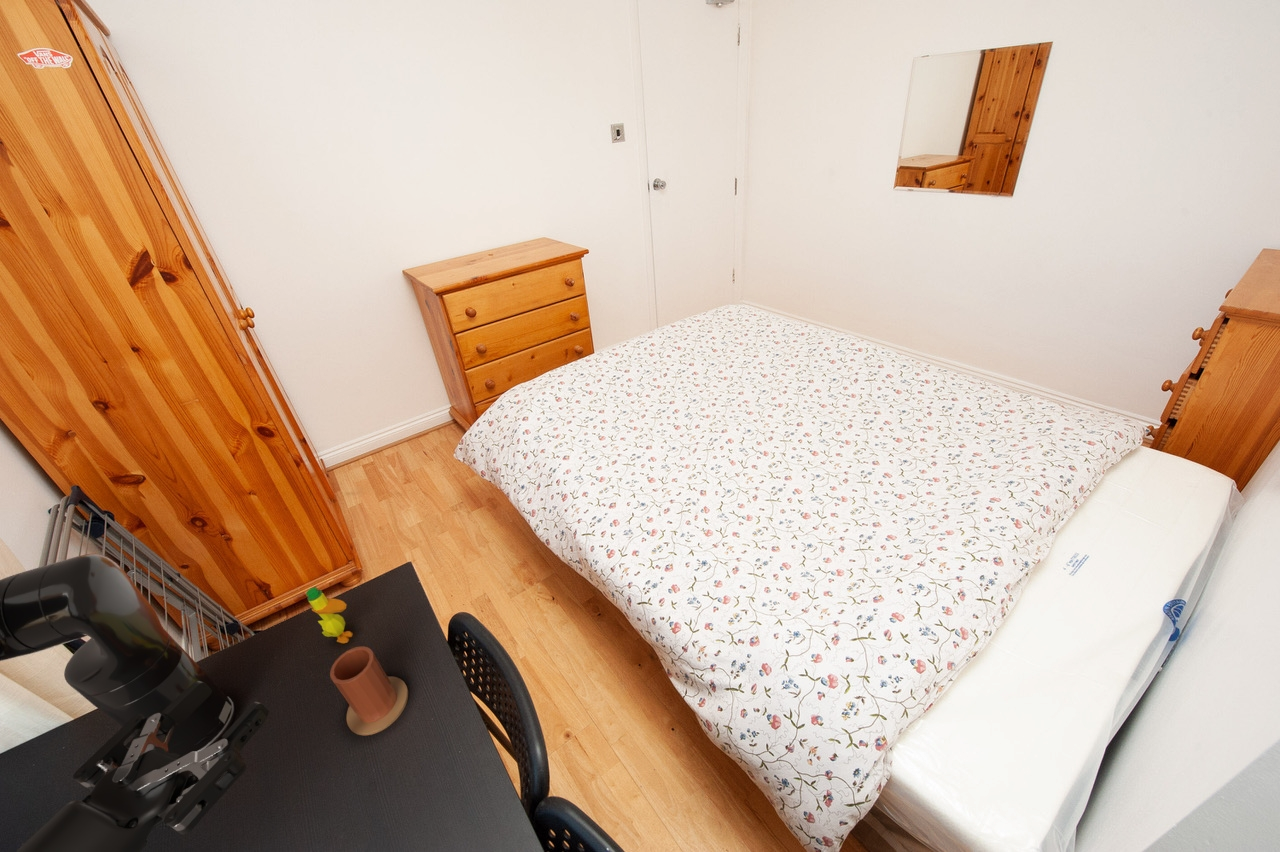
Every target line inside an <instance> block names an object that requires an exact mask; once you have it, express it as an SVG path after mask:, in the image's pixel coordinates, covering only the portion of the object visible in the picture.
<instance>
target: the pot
mask: <svg viewBox="0 0 1280 852" xmlns="http://www.w3.org/2000/svg"><path fill="white" fill-rule="evenodd" d="M388 677H389V676H388V675H387V673H386V672H385V670H384V668H383V666H382V665H381V663H380V662H379V660H378V658H377V656H376V655H375V653H374V652H373V650H372V649H371V648H369V647H367V646H364V645H363V646H356V647H352V648H351V649H348V650H347V651H345V652H344V653H342V654H341V655H340V656H338V658H337V659H336V660H335V661H334V662H333V664H332V666H331V668H330V671H329V678H330V680H331V681H332V682H333V684H334V685H335V686H336V688H337V689H338V691H339V692H340V694H341V695H342V696H343V698H344V700H345V701H346V702H347V703H348V705H349V706H351V708H352V709H353V711H354V712H355V713H356V715H357V716H358V718H359V719H360V720H361V721H363V722H366V723H372V722H376V721H378V720H380V719H382V718H383V717H385V716H386V715H387V714H388V713H389V712H390V711H391V710H392V708H393V707H394V705H395V702H396V699H397V694H396V691H395V689H394V687H393V685H392V683H391V682H390V680H389V678H388Z"/></svg>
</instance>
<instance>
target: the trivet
mask: <svg viewBox="0 0 1280 852" xmlns="http://www.w3.org/2000/svg"><path fill="white" fill-rule="evenodd" d="M387 677H388V678H389V680H390V682H391V683H392V685H393V687H394V689H395V691H396V694H397V699H396V702H395V705H394V707H393V708H392V710H391V711H390V712H389V713H388V714H387V715H386V716H385V717H383V718H382V719H380V720H378V721H376V722H372V723H366V722H363V721H361V720H360V719H359V718H358V716H357V715H356V713H355V712H354V711H353V709H352V708H351V706H350V705H349V706H348V708H347V712H346V716H345V717H346V718H345V720H346V724H347V726H348V728H349V730H351V732H352V733H354V734H356V735H358V736H372V735H375V734H378V733H380V732H382V731H385V730H386V729H388V727H390V726H391V725H392V724H394V723H395V722H396V721H397V719H399V718H400V716H401V715H402V713H403V711H404V710H405V708H406V706H407V703H408V699H409V689H408V686H407V685H406V683H405V681H404V680H402V679H401V678H399V677H397V676H387Z"/></svg>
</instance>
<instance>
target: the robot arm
mask: <svg viewBox="0 0 1280 852" xmlns="http://www.w3.org/2000/svg"><path fill="white" fill-rule="evenodd" d="M86 637H89V639H88V640H87V641H86V642H84V643H83V644H82V645H81V646H80V647H79V648H78V649H77V650H76V651H75V652H74V653H73V655H71V657H70V659H69V661H67V664H66V665H65V668H64V673H63V674H64V675H63V676H64V680H65V682H66V684H68V685H69V686H70V687H71V689H73V690H74V691H76V692H77V693H78V694H79V695H80V696H82V697H83V698H84V699H85V700H87V701H88V702H89V703H90V704H92V706H94V707H96V709H98V710H99V711H100V712H102V713H103V714H104V715H105V716H106V717H108V718H109V719H110V720H111V721H112V722H113V723H115V724H116V725H117V726H118V727H119V728H120V729H119V730H117V732H116V733H114V734H113V735H112V736H111V737H110V738H109V739H108V740H107V741H106V742H105V743H104V744H103V745H102V746H101V747H100V748H99V749H98V750H97V751H96V752H95V753H94V754H93V755H91V756H90V757H89V758H88V760H86V761H85V762H84V763H83V764H82V765H81V766H80V767H79V768H78V769H77V770H76V771H75V772H74V774H73V775H72V779H73V780H74V781H76V782H77V783H78V784H80V785H81V786H83V787H84V788H87V789H88V790H90V791H89V793H88V795H86V796H85V797H84V798H83V799H82V800H78V799H76V800H71V801H69V802H67V803H66V804H64V805H63V806H62V808H61V809H60V810H58V811H57V812H56V813H55V814H54V815H53V816H52V817H51V818H50V819H49V820H48V821H46V822H45V824H43V825H42V826H41V827H40V828H39V829H38V830H37V831H36V832H35V833H34V834H33V835H32V836H31V837H29V838H28V839H27V840H26V841H25V842H24V843H23V844H22V845H21V846H20V847H19V848H18V849H17V850H16V851H15V852H143V850H144V849H145V848H146V846H147V842H148V841H147V838H148V836H149V835H150V834H151V832H152V831H153V830H154V829H155V828H156V827H159V825H160V824H162V823H164V824H165V825H166V826H168V827H170V828H172V829H173V830H174V831H176V832H177V833H178V834H180V835H182V836H183V835H186V834H188V833H190V832H191V831H192V830H193V829H194V828H195V827H196V825H198V823H200V821H201V820H202V819H203V818H204V817H205V816H206V815H207V814H208V812H209V811H210V810H211V809H212V808H213V807H214V806H215V805H216V803H217V802H219V800H220V799H221V798H222V797H223V796H224V795H225V794H226V792H227V791H229V789H230V788H231V787H232V786H233V785H234V783H235V782H237V781H238V779H239V778H240V777H241V776H242V775H243V774H244V773H245V772H246V770H247V767H248V764H247V763H246V762H245V760H244V759H243V758H242V755H241V752H242V749H243V748H244V746H245V745H247V744H248V742H249V741H250V740H251V739H252V738H253V736H254V735H255V734H256V733H257V732H258V731H259V729H260V728H261V727H262V726H263V725H264V724H265V722H266V721H267V719H268V716H269V713H270V711H269V709H268V708H267V707H266V706H265V704H264V703H262V702H259V701H254V702H252V703H251V704H250V705H249V706H248V707H247V708H246V710H245V711H244V712H242V714H241V715H240V716H239V717H238V718H237V719H236V720H235V721H234V719H235V715H236V704H235V702H234V701H233V700H232V699H231V698H230V696H227V694H225V693H224V691H223V690H222V689H221V688H220V687H219V686H218V685H217V683H216V682H214V681H213V679H212V678H211V677H210V676H209V675H208V674H207V673H206V672H205V671H204V669H202V667H200V666H199V664H198V663H197V662H196V661H195V660H194V659H193V658H192V657H191V656H190V655H189V654H188V653H187V651H186V650H185V649H184V648H183V647H182V646H181V645H180V644H179V643H178V642H177V641H176V640H175V638H174V637H172V636H171V634H170V633H169V632H168V631H167V630H166V629H165V627H164V626H163V625H162V622H161V621H160V618H159V616H158V614H157V612H156V610H155V609H154V607H153V605H151V603H150V602H149V601H148V600H147V598H146V597H145V596H144V595H143V593H142V592H141V591H140V590H139V589H138V587H137V586H136V584H135V583H134V581H133V580H132V579H131V578H130V576H129V575H128V573H126V571H125V570H124V569H123V568H122V567H121V566H120V564H118V563H117V562H116V561H115V560H112V559H111V558H109V557H108V556H106V555H103V554H99V553H86V554H82V555H78V556H74V557H70V558H66V559H63V560H60V561H57V562H53V563H49V564H46V565H42V566H39V567H36V568H32V569H29V570H25V571H22V572H19V573H15V574H12V575H10V576H6V577H4V578H2V579H0V662H3V661H7V660H11V659H15V658H19V657H23V656H28V655H31V654H35V653H38V652H43V651H45V650H48V649H49V650H50V649H52V648H54V647H58V646H60V645H64V644H67V643H71V642H74V641H76V640H79V639H82V638H86ZM233 721H234V722H233ZM129 737H132V738H131V740H129V741H128V742H127V743H126V744H125V745H124V743H125V741H126V740H127V739H128V738H129ZM191 773H192V774H191ZM190 774H191V775H190ZM223 774H224V775H223Z"/></svg>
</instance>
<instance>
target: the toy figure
mask: <svg viewBox="0 0 1280 852" xmlns="http://www.w3.org/2000/svg"><path fill="white" fill-rule="evenodd" d="M305 595H306V596H307V601H308V603H309V604H310V605H311V607H312V608H311V611H312V612H314V613H316V614H317V615H318V616H319V617H320V618H321V620H317V622H318V624H319V625H320V626H321V629H322V630H323V631H321V634H323V636H324V637H327V638H329V637H333V638H334V637H336V638H337V640H336V642H337V643H340V644H346V643H348V642H349V641H350V638H352V637H353V636H354V633H353V632H352V631H350V630H346V631H344V630H345V626H346V621H345V618H344V616H342V615H340V614H339V613H343V612H344V611H345V610H346V609H347V605H348V604H347V603H345V601H343V600H341V599H338V598H332V597H331V598H329V597H326V595H325V593H323V590H321V589H318V588H317V587H316V586H313V587H311V588H309V589H308V590H306V592H305Z"/></svg>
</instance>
